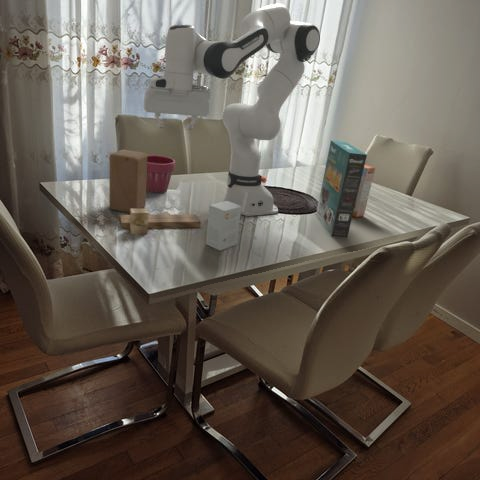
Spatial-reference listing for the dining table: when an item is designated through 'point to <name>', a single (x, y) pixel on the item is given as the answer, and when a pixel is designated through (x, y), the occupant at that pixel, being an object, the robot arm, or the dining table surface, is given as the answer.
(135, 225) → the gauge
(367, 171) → the cracker box
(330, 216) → the cake mix box
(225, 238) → the small box
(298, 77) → the robot arm
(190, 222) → the plank
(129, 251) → the dining table surface
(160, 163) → the plant pot
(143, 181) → the wooden block
